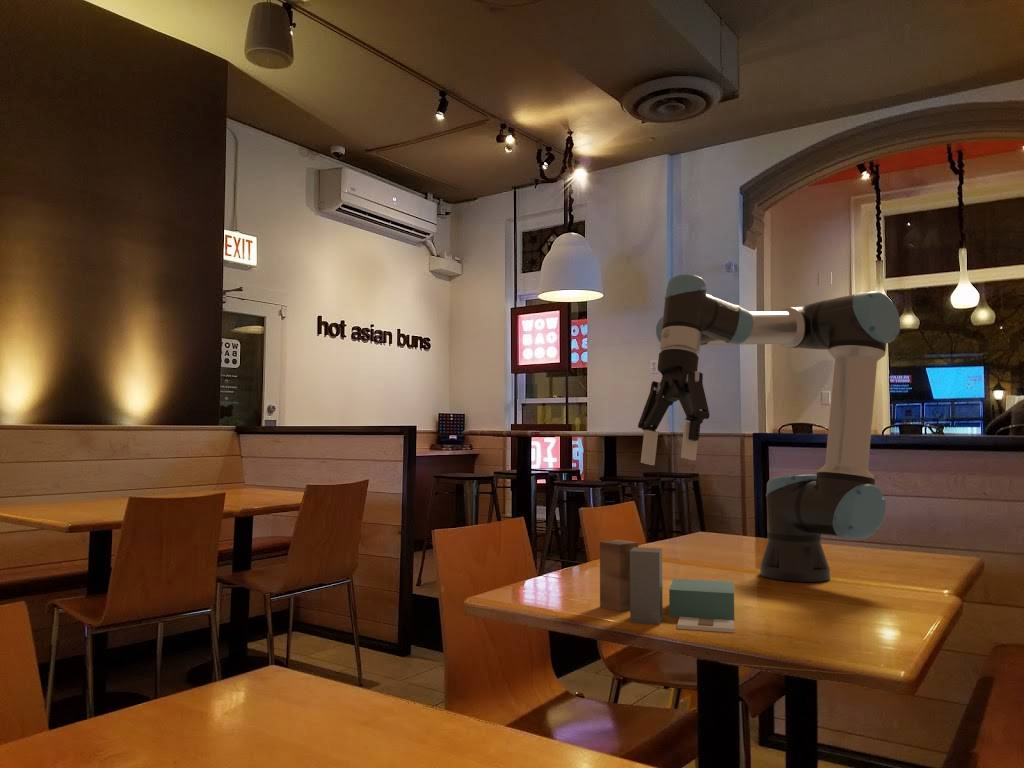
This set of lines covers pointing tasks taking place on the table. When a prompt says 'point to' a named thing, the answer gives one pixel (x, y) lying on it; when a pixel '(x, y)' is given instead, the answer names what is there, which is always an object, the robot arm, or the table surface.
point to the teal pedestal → (701, 599)
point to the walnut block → (615, 574)
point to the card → (706, 624)
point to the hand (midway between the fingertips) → (667, 461)
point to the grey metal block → (646, 585)
